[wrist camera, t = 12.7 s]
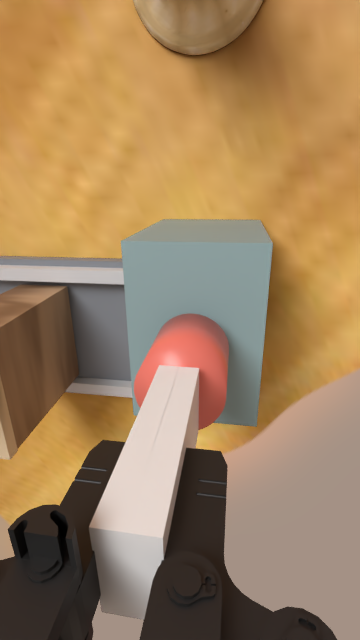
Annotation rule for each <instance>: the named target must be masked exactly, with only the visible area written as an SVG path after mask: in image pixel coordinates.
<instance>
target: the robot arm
mask: <svg viewBox="0 0 360 640" xmlns="http://www.w3.org/2000/svg"><path fill="white" fill-rule="evenodd" d="M198 429H199V368H193V367H178V366H164V365H159V367H158V369H157V371H156V374H155V376H154V378H153V381H152V383H151V385H150V388H149V390H148V392H147V394H146V397H145V399H144V401H143V404H142V406H141V408H140V411H139V413H138V415H137V417H136V420H135V422H134V424H133V427H132V429H131V431H130V434H129V436H128V438H127V440H126V442H117V441H108V440H102V441H101V442H100V443H99V444H98V445H97V446H96V447H94V448H93V449H92V450H91V451H90V452H89V454H88V455H87V457H86V459H85V461H84V463H83V465H82V468H81V469H80V470H79V472H78V474H77V475H76V477H75V481H73V483H72V484H71V486H70V488H69V490H68V492H67V493H66V495H65V497H64V499H63V501H62V502H61V504H60V506H59V505H42V506H39V507H37V508H34V509H31V510H29V511H28V512H26V513H25V514H23V515H22V516H20V517H19V518H17V519H16V521H15V522H14V523H13V524H12V525H11V526H10V527H9V529H8V532H9V535H10V540H11V543H12V547H13V550H14V554H15V556H14V557H11V558H8V559H4V560H0V640H92V637H93V628H92V620H93V616H94V614H95V611H96V608H97V605H98V601H99V599H100V603H101V610H102V612H105V613H110V614H116V615H121V616H126V617H132V618H137V619H143V620H144V622H143V627H142V631H141V636H140V640H337V639H336V637H335V635H334V634H333V632H332V631H331V629H330V628H329V627H328V626H327V625H326V624H325V623H324V622H323V621H322V620H321V619H320V618H319V617H317V616H316V615H314V614H312V613H310V612H308V611H306V610H304V609H302V608H294V607H285V608H283V609H280V610H277V611H274V612H272V611H270V610H269V609H267V608H265V607H263V606H261V605H260V604H258V603H256V602H254V601H252V600H251V599H249V598H248V597H247V596H245V595H244V594H243V593H241V591H240V590H239V589H238V588H237V587H236V586H235V585H234V584H233V582H232V580H231V579H230V577H229V575H228V573H227V570H226V567H225V564H224V536H225V511H226V488H227V464H226V462H225V460H224V457H223V455H222V453H221V451H213V450H204V449H195V447H196V441H197V435H198Z"/></svg>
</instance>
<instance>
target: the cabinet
mask: <svg viewBox="0 0 360 640" xmlns="http://www.w3.org/2000/svg"><path fill="white" fill-rule="evenodd" d="M272 247H273V243H272V241H271V239H270V237H269V235H268V234H267V232H266V230H265V228H264V226H263V224H262V223H261V221H260V220H180V219H163V220H161V221H159V222H157V223H155V224H153V225H151V226H149V227H147V228H145V229H144V230H142V231H140V232H138V233H136V234H134V235H132V236H130V237H128V238H126V239H124V240H122V241H121V248H122V262H123V275H124V289H125V303H126V316H127V330H128V344H129V357H130V371H131V385H132V398H133V412H134V415H136V416H137V415H138V413H139V411H140V407H139V405H138V403H137V401H136V398H135V394H134V381H135V378H136V375H137V373H138V371H139V369H140V367H141V365H142V363H143V361H144V359H145V357H146V356H147V354H148V352H149V350H150V348H151V346H152V344H153V342H154V340H155V338H156V337H157V335H158V333H159V331H160V329H161V328H162V326H163V325H164V324H165V323H166V322H167V321H168V320H170V319H171V318H173V317H175V316H178V315H182V314H199V315H203V316H206V317H208V318H210V319H212V320H213V321H214V322H216V323H217V324H218V325H219V326H220V327H221V328H222V330H223V331H224V333H225V335H226V337H227V339H228V344H229V358H228V375H227V393H226V403H225V406H224V409H223V411H222V413H221V414H220V416H219V417H218V418H217V419H216V420H215V421H214V422H213V423H223V424H234V425H245V426H255V427H257V417H258V405H259V394H260V383H261V371H262V360H263V349H264V337H265V326H266V315H267V304H268V292H269V281H270V270H271V258H272Z"/></svg>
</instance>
